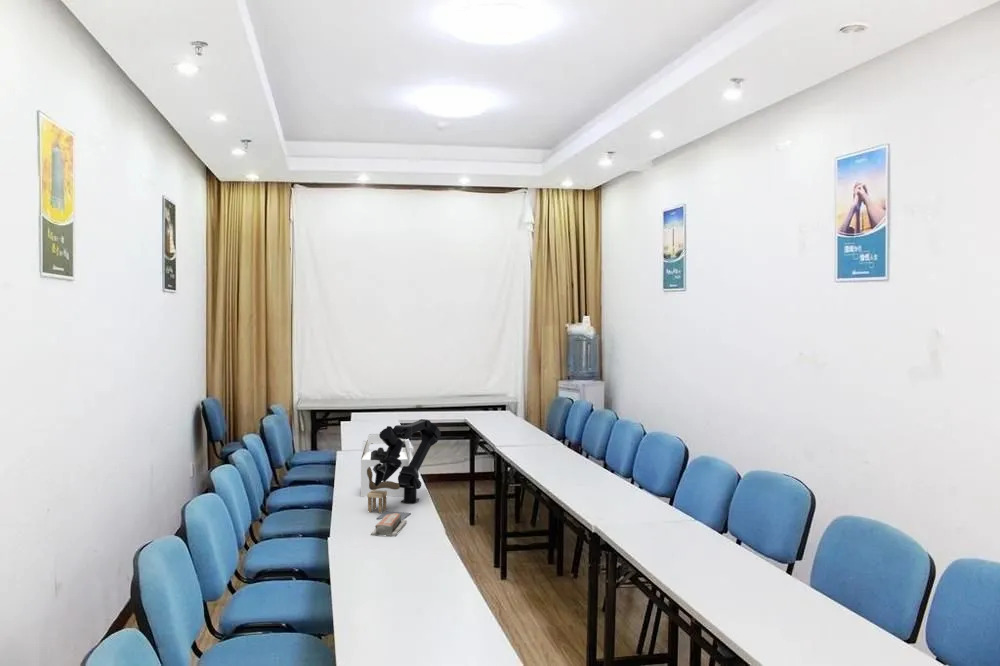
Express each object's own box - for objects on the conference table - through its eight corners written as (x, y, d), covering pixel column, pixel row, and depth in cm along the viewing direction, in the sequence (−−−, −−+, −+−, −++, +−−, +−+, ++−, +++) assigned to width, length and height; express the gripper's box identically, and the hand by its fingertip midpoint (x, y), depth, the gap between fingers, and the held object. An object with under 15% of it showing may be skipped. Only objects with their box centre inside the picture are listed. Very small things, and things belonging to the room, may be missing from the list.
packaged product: (395, 525, 280) (370, 524, 282) (395, 538, 281) (370, 536, 282) (407, 512, 298) (383, 511, 299) (407, 524, 298) (383, 523, 300)
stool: (373, 508, 319) (373, 490, 319) (387, 509, 318) (387, 490, 318) (367, 512, 313) (367, 493, 313) (381, 513, 312) (381, 494, 312)
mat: (386, 512, 314) (386, 510, 314) (410, 513, 311) (410, 512, 311) (376, 519, 303) (376, 518, 303) (401, 521, 301) (401, 520, 301)
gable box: (410, 489, 353) (410, 431, 352) (408, 496, 340) (409, 436, 339) (363, 489, 351) (363, 431, 350) (360, 497, 338) (360, 436, 337)
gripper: (369, 448, 324) (355, 479, 315) (385, 437, 309) (370, 470, 300) (391, 459, 327) (378, 491, 318) (407, 449, 312) (394, 482, 304)
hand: (379, 483), depth 310 cm, fingers open, 9 cm apart
